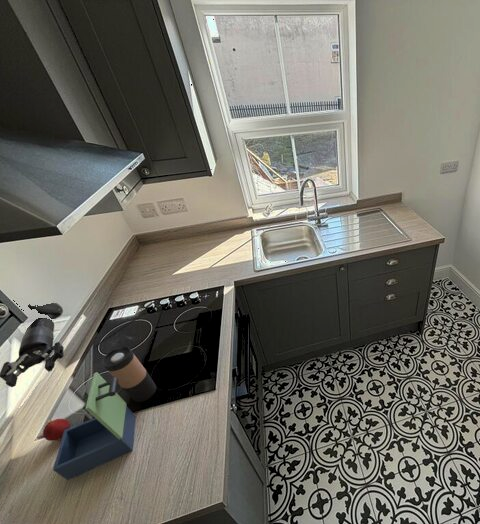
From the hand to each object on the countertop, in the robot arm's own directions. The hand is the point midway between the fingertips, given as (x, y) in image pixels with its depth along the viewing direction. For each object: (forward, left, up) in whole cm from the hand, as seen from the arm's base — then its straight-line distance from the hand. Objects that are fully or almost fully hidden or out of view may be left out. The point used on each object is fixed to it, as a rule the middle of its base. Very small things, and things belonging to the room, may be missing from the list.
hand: (30, 377), depth 88 cm
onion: (+2, -10, -18) cm, 21 cm away
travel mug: (+24, -6, -18) cm, 31 cm away
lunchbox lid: (+21, -20, -3) cm, 29 cm away
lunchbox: (+14, -20, -18) cm, 31 cm away
